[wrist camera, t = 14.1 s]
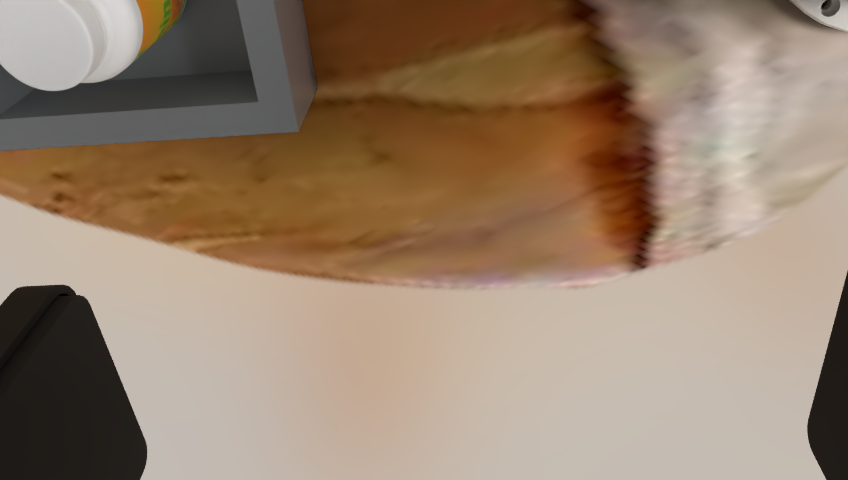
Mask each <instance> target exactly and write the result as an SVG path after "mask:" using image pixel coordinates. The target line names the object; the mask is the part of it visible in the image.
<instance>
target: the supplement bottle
mask: <svg viewBox="0 0 848 480" xmlns="http://www.w3.org/2000/svg"><path fill="white" fill-rule="evenodd" d="M186 1H187V0H0V64H1V65H2V67H3V68H4V69H5V70H6V71H8V72H9V73H10V74H11V75H12V76H14V77H15V78H16V79H18V80H19V81H21V82H23V83H25V84H27V85H29V86H31V87H33V88H37V89H40V90H46V91H61V90H66V89H69V88H72V87H74V86H76V85H78V84H79V83H95V82H100V81H104V80H107V79H110V78H113V77H114V76H116V75H118V74H119V73H121V72H122V71H123V70H125V69H126V68H127V67H128V66H129V65H131V64H132V63H133V62H134V61H135V60H136V59H137V58H138V57H139V56H140V55H142V54H143V53H144V52H145V51H146V50H147V49H148V48H149V47H150V46H151V45H153V44H154V43H155V42H156V41H157V40H158V39H159V38H161V37H162V36H163V35H164V34H165V33H166V32H167V31H169V30H170V29H171V28H172V27H173V26H174V25H175V23H176V22H177V21H178V20H179V18H180V17H181V15H182V13H183V11H184V9H185V5H186Z"/></svg>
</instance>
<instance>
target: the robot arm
mask: <svg viewBox="0 0 848 480" xmlns="http://www.w3.org/2000/svg"><path fill="white" fill-rule="evenodd" d="M789 1H790V2H792V3H793V4H794V5H795V6H796V7H798V8H799V9H800V10H801V11H802V12H804V13H805V14H807V15H808V16H810V17H811V18H813V19H814V20H816V21H817V22H819V23H821V24H823V25H826V26H829V27H832V28H835V29H837V30H840V31H843V32H848V0H828V2H827V4H826V5H825V6H824V7H821V6H822V4H823V3H824V2H825V1H826V0H789ZM807 426H808V427H807V428H808V439H809V443H810V447H811V450H812V452H813V454H814V456H815V458H816V460H817V462H818V464H819V466H820V468H821V470H822V472H823V474H824V476H825V478H826V480H848V272H847V276H846V279H845V283H844V287H843V291H842V295H841V298H840V302H839V306H838V310H837V313H836V317H835V321H834V325H833V328H832V332H831V336H830V340H829V343H828V348H827V351H826V355H825V359H824V363H823V366H822V370H821V374H820V378H819V381H818V385H817V389H816V393H815V396H814V400H813V404H812V408H811V411H810V415H809V419H808V425H807ZM146 460H147V445H146V442H145V439H144V437H143V434H142V431H141V429H140V426H139V424H138V422H137V420H136V416H135V414H134V412H133V409H132V407H131V404H130V402H129V399H128V397H127V394H126V392H125V390H124V387H123V384H122V382H121V380H120V377H119V375H118V372H117V370H116V367H115V365H114V362H113V360H112V358H111V355H110V353H109V350H108V348H107V345H106V343H105V341H104V338H103V336H102V333H101V330H100V328H99V326H98V323H97V321H96V318H95V316H94V313H93V311H92V308H91V306H90V304H89V302H88V300H87V299H86V298H84V297H83V296H80V295H76V293H75V292H74V291H73V289H71V288H70V287H69V286H66V285H47V286H26V287H20V288H17V289H15V290H14V291H13V292H12V293H11V294H10V295H9V296H8V297H7V299H6V300H5V301H4V302H3V303H2V304H1V306H0V480H140V478H141V476H142V473H143V471H144V468H145V465H146Z"/></svg>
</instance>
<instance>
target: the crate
mask: <svg viewBox="0 0 848 480" xmlns="http://www.w3.org/2000/svg"><path fill="white" fill-rule="evenodd" d="M316 91H317V84H316V78H315V72H314V67H313V61H312V55H311V49H310V43H309V37H308V31H307V25H306V20H305V14H304V8H303V2H302V0H187V1H186V5H185V9H184V11H183V13H182V15H181V17H180V18H179V20H178V21H177V22H176V23H175V25H174V26H173V27H172V28H171V29H170V30H169V31H167V32H166V33H165V34H164V35H163V36H162V37H161V38H159V39H158V40H157V41H156V42H155V43H154V44H153V45H151V46H150V47H149V48H148V49H147V50H146V51H145V52H144V53H143V54H142V55H140V56H139V57H138V58H137V59H136V60H135V61H134V62H133V63H132V64H131V65H129V66H128V67H127V68H126V69H125V70H123V71H122V72H121V73H119V74H118V75H116V76H114V77H113V78H110V79H107V80H104V81H100V82H95V83H79V84H78V85H76V86H74V87H72V88H69V89H66V90H61V91H46V90H40V89H37V88H33V87H31V86H29V85H27V84H25V83H23V82H21V81H19V80H18V79H16V78H15V77H14V76H12V75H11V74H10V73H9V72H8V71H6V70H5V69H4V68H3V67H2V65H1V64H0V151H7V150H23V149H39V148H54V147H70V146H86V145H101V144H117V143H133V142H149V141H164V140H180V139H196V138H211V137H227V136H243V135H258V134H274V133H290V132H299V130H300V128H301V125H302V123H303V121H304V118H305V116H306V114H307V112H308V109H309V107H310V105H311V102H312V100H313V98H314V96H315V93H316Z"/></svg>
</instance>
